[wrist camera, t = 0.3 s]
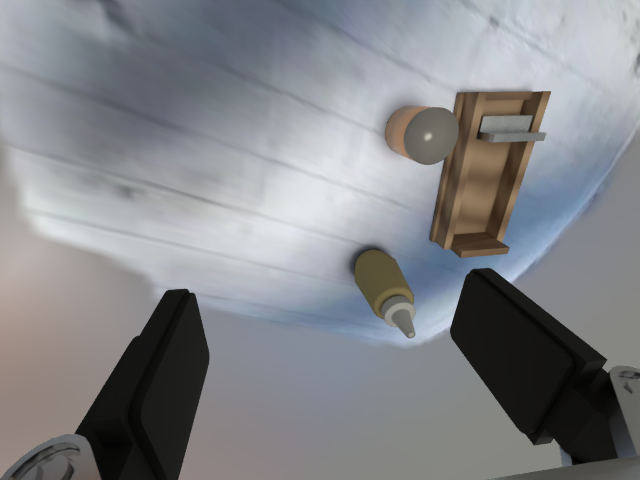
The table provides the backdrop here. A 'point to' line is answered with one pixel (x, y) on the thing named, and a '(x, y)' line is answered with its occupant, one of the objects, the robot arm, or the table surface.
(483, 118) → the plate
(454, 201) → the wooden tray
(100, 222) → the table surface
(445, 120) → the jar
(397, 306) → the squeeze bottle
